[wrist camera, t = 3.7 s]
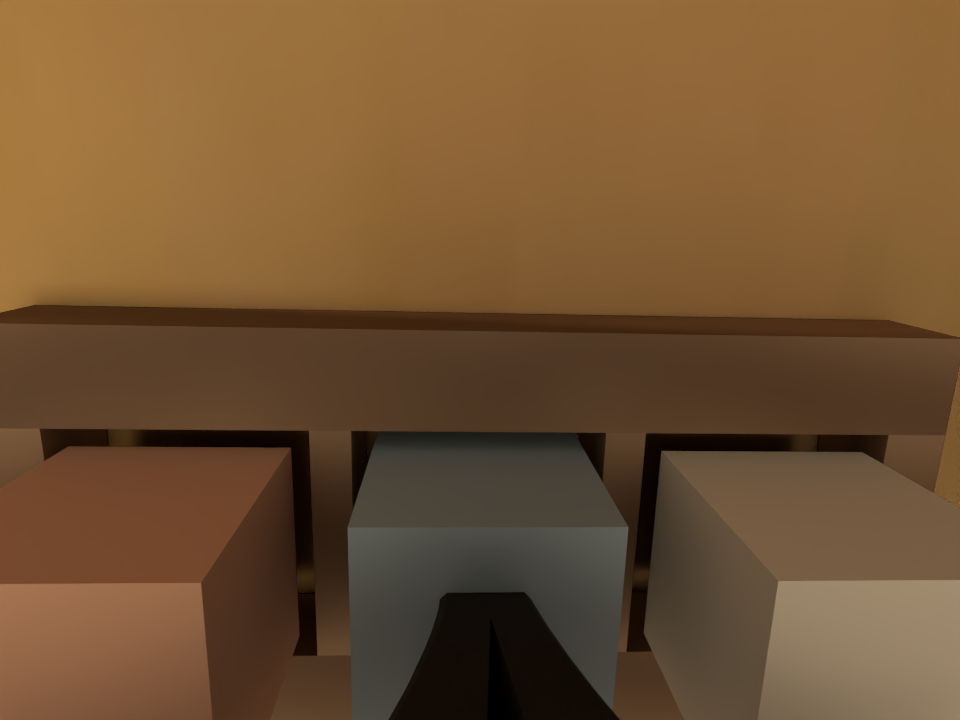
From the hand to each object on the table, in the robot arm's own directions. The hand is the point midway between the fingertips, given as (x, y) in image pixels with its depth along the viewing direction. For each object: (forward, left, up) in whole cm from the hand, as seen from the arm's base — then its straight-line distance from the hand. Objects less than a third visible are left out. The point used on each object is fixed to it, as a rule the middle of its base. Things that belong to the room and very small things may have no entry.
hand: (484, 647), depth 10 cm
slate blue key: (0, 0, -5) cm, 5 cm away
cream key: (-3, -5, -3) cm, 7 cm away
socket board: (0, 0, -5) cm, 5 cm away
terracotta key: (+3, +5, -3) cm, 7 cm away
